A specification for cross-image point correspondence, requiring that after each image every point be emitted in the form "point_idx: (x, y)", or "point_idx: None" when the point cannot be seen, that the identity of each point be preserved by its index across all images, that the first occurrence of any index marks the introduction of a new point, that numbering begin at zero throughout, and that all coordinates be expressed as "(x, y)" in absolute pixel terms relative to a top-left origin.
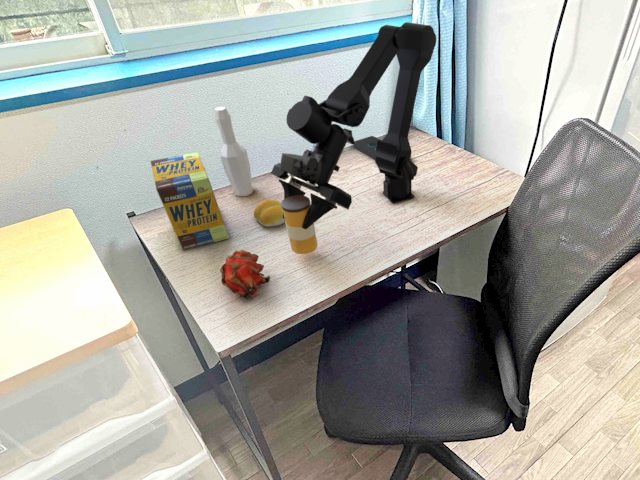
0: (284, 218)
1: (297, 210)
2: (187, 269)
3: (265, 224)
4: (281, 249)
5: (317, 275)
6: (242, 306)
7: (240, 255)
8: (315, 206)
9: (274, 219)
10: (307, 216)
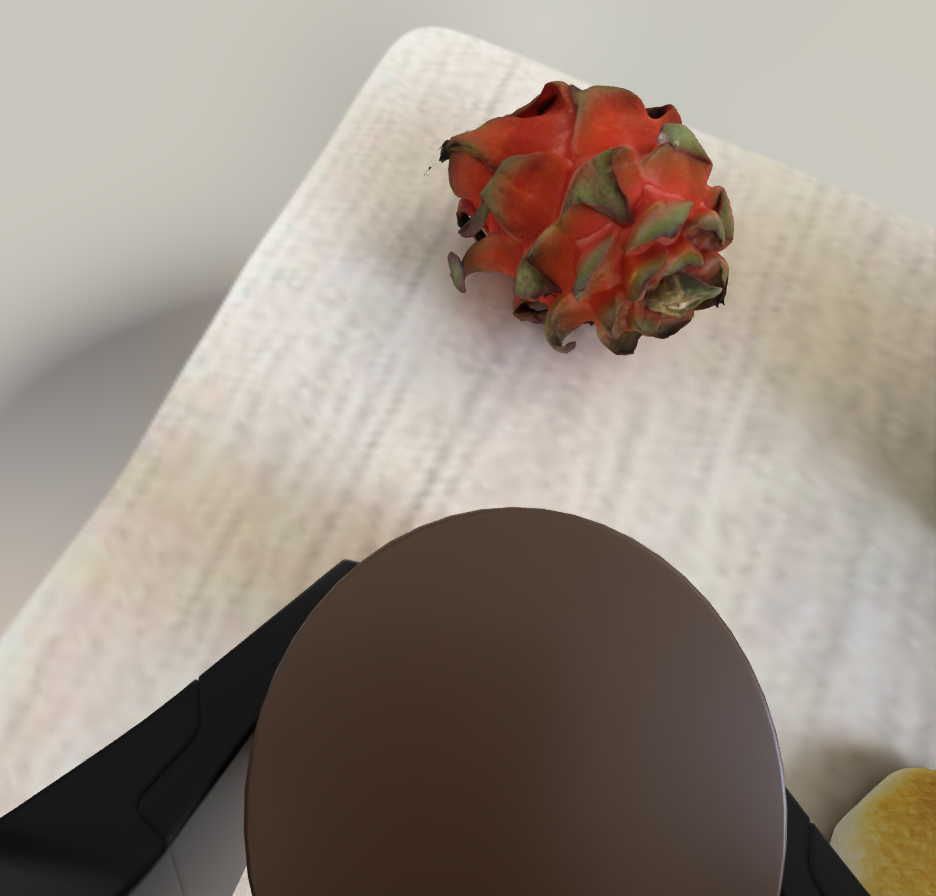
0: None
1: (348, 574)
2: (901, 277)
3: (905, 774)
4: None
5: (301, 493)
6: None
7: (646, 192)
8: (21, 804)
9: (888, 841)
10: (269, 645)
